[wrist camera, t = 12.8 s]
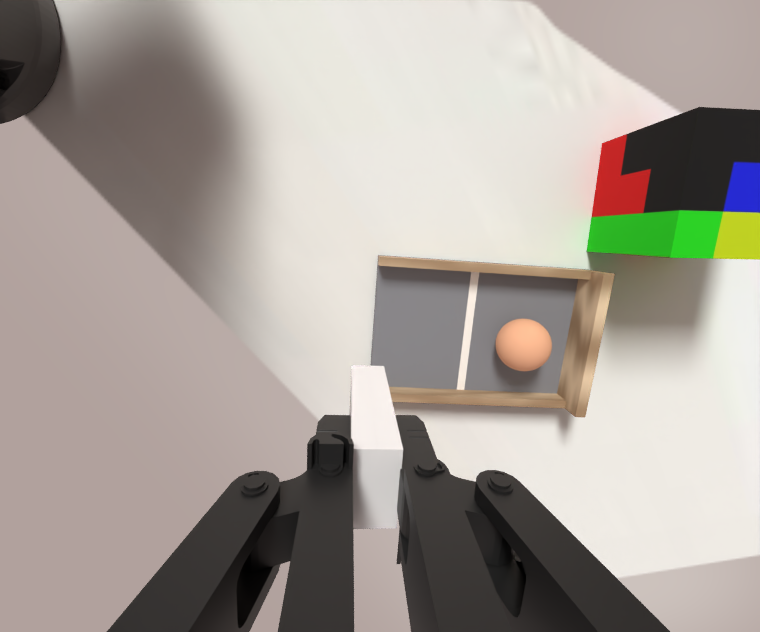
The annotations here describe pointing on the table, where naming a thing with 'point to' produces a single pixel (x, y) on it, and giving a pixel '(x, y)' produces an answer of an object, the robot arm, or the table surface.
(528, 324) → the ball
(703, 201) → the puzzle toy
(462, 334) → the tray
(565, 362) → the divided wooden tray
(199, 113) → the table surface
